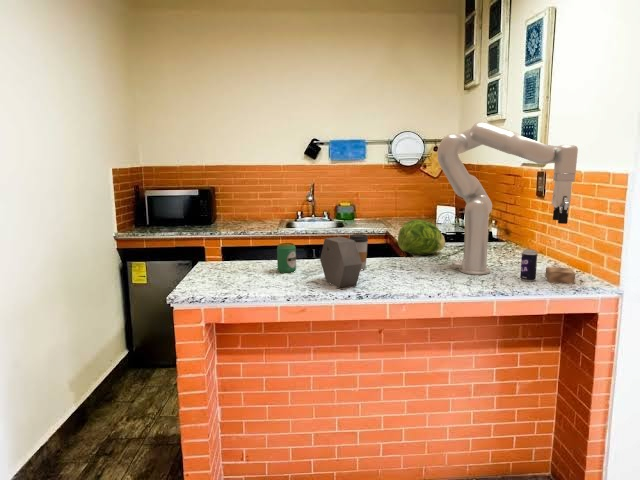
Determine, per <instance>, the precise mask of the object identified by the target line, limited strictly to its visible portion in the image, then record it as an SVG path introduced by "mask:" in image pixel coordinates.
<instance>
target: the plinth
mask: <svg viewBox="0 0 640 480" xmlns="http://www.w3.org/2000/svg"><path fill="white" fill-rule="evenodd" d="M544 274H545V279H546V281H548V283H550V284H551V283H553V284H554V283H555V284H569V285H574V284H575V282H576V273H575V272H574V271H573V269H571V268H569V267H557V266H556V267H554V266H553V267H551V266H547V267H545V273H544Z"/></svg>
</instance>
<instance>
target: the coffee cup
mask: <svg viewBox="0 0 640 480" xmlns="http://www.w3.org/2000/svg"><path fill="white" fill-rule="evenodd" d="M348 239H351V240H354V241H355V243H356V246H357V249H358V252H359V256H360V259H361V262H362V266H361V269H365V270H366V267H367V266H366V265H367V257H368V242H369V238H368V235H367V234H364V233H362V234H361V233H360V234H359V233H354V234H350V235H349V237H348Z"/></svg>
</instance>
